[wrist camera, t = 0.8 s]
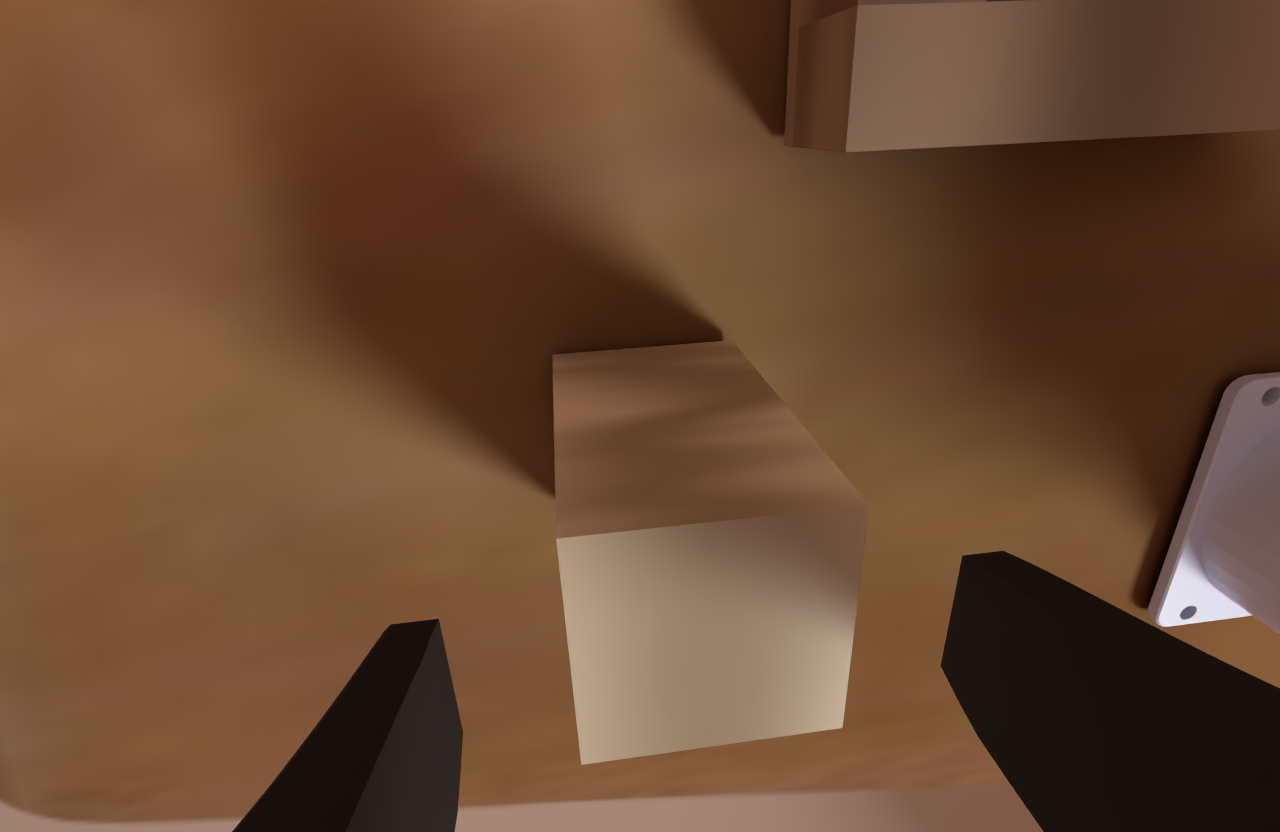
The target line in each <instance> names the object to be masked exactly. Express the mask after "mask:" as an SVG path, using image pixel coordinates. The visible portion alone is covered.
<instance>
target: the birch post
mask: <svg viewBox="0 0 1280 832" xmlns="http://www.w3.org/2000/svg"><path fill="white" fill-rule="evenodd" d="M552 362H553V409H554V456H555V504H556V541H557V550H558V559H559V568H560V577H561V586H562V595H563V604H564V613H565V622H566V630H567V639H568V648H569V657H570V666H571V675H572V684H573V693H574V702H575V711H576V720H577V729H578V738H579V747H580V756H581V764H582V765H583V764H590V763H597V762H605V761H612V760H619V759H626V758H633V757H640V756H647V755H654V754H661V753H668V752H675V751H682V750H689V749H696V748H703V747H710V746H718V745H725V744H732V743H739V742H746V741H753V740H760V739H767V738H774V737H781V736H788V735H795V734H802V733H809V732H816V731H823V730H831V729H838V728H842V727H843V719H844V710H845V702H846V694H847V685H848V677H849V669H850V660H851V652H852V644H853V636H854V627H855V619H856V611H857V602H858V594H859V586H860V577H861V569H862V561H863V553H864V544H865V536H866V528H867V519H868V511H869V504H868V503H867V502H866V501H865V499H864V498H863V497H862V496H861V495H860V493H859V492H858V491H857V490H856V489H855V487H854V486H853V485H852V484H851V483H850V481H849V480H848V479H847V478H846V477H845V475H844V474H843V473H842V472H841V471H840V469H839V468H838V467H837V466H836V465H835V464H834V462H833V461H832V460H831V459H830V458H829V456H828V455H827V454H826V453H825V452H824V450H823V449H822V448H821V447H820V446H819V444H818V443H817V442H816V441H815V440H814V438H813V437H812V436H811V435H810V434H809V432H808V431H807V430H806V429H805V428H804V426H803V425H802V424H801V423H800V422H799V420H798V419H797V418H796V417H795V416H794V414H793V413H792V412H791V411H790V410H789V408H788V407H787V406H786V405H785V404H784V402H783V401H782V400H781V399H780V398H779V396H778V395H777V394H776V393H775V392H774V391H773V389H772V388H771V387H770V386H769V385H768V383H767V382H766V381H765V380H764V379H763V377H762V376H761V375H760V374H759V373H758V371H757V370H756V369H755V368H754V367H753V365H752V364H751V363H750V362H749V361H748V359H747V358H746V357H745V356H744V355H743V353H742V352H741V351H740V350H739V349H738V347H737V346H736V345H735V344H734V343H733V341H732V340H728V341H716V342H703V343H691V344H678V345H666V346H653V347H641V348H628V349H616V350H603V351H590V352H578V353H565V354H553V355H552Z"/></svg>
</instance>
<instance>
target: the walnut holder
mask: <svg viewBox="0 0 1280 832" xmlns="http://www.w3.org/2000/svg"><path fill="white" fill-rule="evenodd" d="M1265 130H1280V0H791V11H790V33H789V55H788V76H787V98H786V120H785V142H784V146H792V147H801V148H811V149H820V150H829V151H839V152H860V151H880V150H899V149H918V148H937V147H957V146H976V145H995V144H1014V143H1034V142H1053V141H1072V140H1091V139H1111V138H1130V137H1149V136H1168V135H1188V134H1207V133H1226V132H1245V131H1265Z"/></svg>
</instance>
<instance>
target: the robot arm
mask: <svg viewBox="0 0 1280 832" xmlns="http://www.w3.org/2000/svg"><path fill="white" fill-rule="evenodd" d="M1147 614H1148V616H1149V618H1151V619H1152V620H1153V621H1154V622H1155V623H1157V624H1158V625H1160V626H1164V627H1168V626H1176V625H1184V624H1191V623H1199V622H1206V621H1214V620H1221V619H1229V618H1236V617H1244V616H1251V615H1253V616H1254V617H1256V618H1257V619H1259V620H1260V621H1261V622H1263V623H1264V624H1266V625H1267V626H1268V627H1270V628H1271V629H1273V630H1274V631H1276V632H1277V633H1278V634H1280V372H1275V373H1264V374H1253V375H1246V376H1242V377H1239V378H1237V379H1236V380H1234V381H1233V382H1231V383H1230V385H1229V386H1228V387H1227V388H1226V390H1225V392H1224V393H1223V396H1222V399H1221V402H1220V405H1219V407H1218V410H1217V413H1216V416H1215V419H1214V422H1213V424H1212V427H1211V430H1210V433H1209V436H1208V439H1207V442H1206V444H1205V447H1204V450H1203V453H1202V456H1201V459H1200V461H1199V464H1198V467H1197V470H1196V473H1195V476H1194V479H1193V481H1192V484H1191V487H1190V490H1189V493H1188V496H1187V498H1186V501H1185V504H1184V507H1183V510H1182V513H1181V516H1180V518H1179V521H1178V524H1177V527H1176V530H1175V533H1174V536H1173V538H1172V541H1171V544H1170V547H1169V550H1168V553H1167V555H1166V558H1165V561H1164V564H1163V567H1162V570H1161V573H1160V575H1159V578H1158V581H1157V584H1156V587H1155V590H1154V592H1153V595H1152V598H1151V601H1150V604H1149V607H1148V613H1147ZM941 667H942V669H943V671H944V673H945V675H946V677H947V679H948V681H949V683H950V685H951V687H952V689H953V691H954V693H955V695H956V697H957V699H958V701H959V703H960V705H961V706H962V708H963V710H964V712H965V714H966V715H967V717H968V719H969V721H970V723H971V725H972V726H973V728H974V730H975V732H976V734H977V735H978V737H979V738H980V740H981V741H982V743H983V744H984V746H985V747H986V749H987V750H988V752H989V753H990V755H991V756H992V758H993V759H994V761H995V762H996V764H997V765H998V766H999V768H1000V769H1001V771H1002V772H1003V774H1004V775H1005V777H1006V778H1007V780H1008V781H1009V783H1010V784H1011V785H1012V787H1013V788H1014V790H1015V791H1016V793H1017V794H1018V795H1019V797H1020V798H1021V800H1022V801H1023V803H1024V804H1025V806H1026V807H1027V808H1028V810H1029V811H1030V812H1031V814H1032V815H1033V817H1034V818H1035V820H1036V821H1037V823H1038V824H1039V826H1040V827H1041V828H1042V830H1043V831H1044V832H1280V688H1278V687H1275V686H1273V685H1271V684H1269V683H1267V682H1265V681H1263V680H1261V679H1258V678H1256V677H1254V676H1252V675H1250V674H1248V673H1246V672H1244V671H1241V670H1239V669H1237V668H1235V667H1233V666H1231V665H1229V664H1227V663H1225V662H1223V661H1221V660H1219V659H1217V658H1215V657H1213V656H1211V655H1209V654H1207V653H1205V652H1203V651H1201V650H1199V649H1197V648H1195V647H1193V646H1191V645H1189V644H1187V643H1185V642H1183V641H1181V640H1179V639H1177V638H1175V637H1173V636H1171V635H1169V634H1167V633H1165V632H1163V631H1161V630H1160V629H1158V628H1156V627H1154V626H1152V625H1150V624H1148V623H1146V622H1144V621H1142V620H1140V619H1138V618H1136V617H1134V616H1132V615H1130V614H1129V613H1127V612H1125V611H1123V610H1121V609H1119V608H1117V607H1115V606H1113V605H1111V604H1109V603H1107V602H1105V601H1104V600H1102V599H1100V598H1098V597H1096V596H1094V595H1092V594H1090V593H1088V592H1086V591H1084V590H1082V589H1080V588H1079V587H1077V586H1075V585H1073V584H1071V583H1069V582H1067V581H1065V580H1063V579H1061V578H1059V577H1057V576H1055V575H1053V574H1051V573H1049V572H1047V571H1045V570H1043V569H1041V568H1039V567H1037V566H1035V565H1033V564H1031V563H1029V562H1027V561H1025V560H1023V559H1020V558H1018V557H1016V556H1014V555H1011V554H1009V553H1007V552H1005V551H998V552H990V553H981V554H973V555H965V556H962V561H961V566H960V571H959V576H958V581H957V586H956V591H955V596H954V601H953V606H952V611H951V617H950V622H949V627H948V632H947V637H946V642H945V647H944V652H943V657H942V662H941ZM462 738H463V730H462V726H461V721H460V716H459V712H458V707H457V702H456V698H455V693H454V688H453V684H452V679H451V674H450V670H449V665H448V660H447V656H446V651H445V646H444V641H443V637H442V632H441V627H440V623H439V619H433V620H425V621H417V622H409V623H400V624H392V625H390V626H389V627H388V628H387V629H386V630H385V631H384V632H383V634H382V635H381V636H380V638H379V639H378V641H377V642H376V643H375V645H374V646H373V648H372V649H371V650H370V652H369V653H368V655H367V656H366V658H365V659H364V660H363V662H362V663H361V665H360V666H359V667H358V669H357V670H356V672H355V673H354V675H353V676H352V677H351V679H350V680H349V682H348V683H347V684H346V686H345V687H344V688H343V690H342V691H341V693H340V694H339V695H338V697H337V698H336V699H335V701H334V702H333V704H332V705H331V706H330V708H329V709H328V710H327V712H326V713H325V715H324V716H323V717H322V719H321V720H320V721H319V723H318V724H317V725H316V727H315V728H314V729H313V730H312V732H311V733H310V734H309V736H308V737H307V738H306V740H305V741H304V742H303V744H302V745H301V746H300V748H299V749H298V750H297V751H296V753H295V754H294V755H293V757H292V758H291V759H290V761H289V762H288V763H287V765H286V766H285V767H284V768H283V770H282V771H281V772H280V774H279V775H278V776H277V778H276V779H275V780H274V781H273V783H272V784H271V785H270V786H269V788H268V789H267V790H266V791H265V793H264V794H263V795H262V796H261V798H260V799H259V800H258V801H257V802H256V804H255V805H254V806H253V807H252V808H251V810H250V811H249V812H248V813H247V814H246V816H245V817H244V818H243V819H242V820H241V822H240V823H239V824H238V825H237V827H236V828H235V829H234V830H233V831H232V832H454V831H455V825H456V819H457V811H458V798H459V785H460V771H461V754H462Z"/></svg>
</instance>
